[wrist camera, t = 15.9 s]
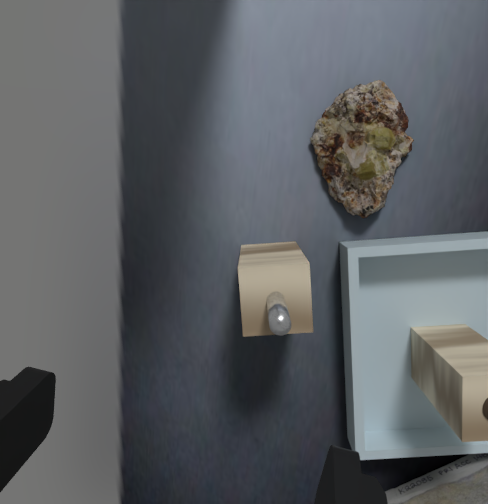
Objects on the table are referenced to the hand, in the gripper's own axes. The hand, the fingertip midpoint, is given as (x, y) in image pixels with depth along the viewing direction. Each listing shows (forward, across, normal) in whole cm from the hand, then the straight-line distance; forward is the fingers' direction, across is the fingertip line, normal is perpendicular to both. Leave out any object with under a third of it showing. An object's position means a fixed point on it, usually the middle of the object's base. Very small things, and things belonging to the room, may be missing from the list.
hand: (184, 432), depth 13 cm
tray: (+28, -16, +8) cm, 33 cm away
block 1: (+27, -1, +4) cm, 28 cm away
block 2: (+28, -16, +8) cm, 33 cm away
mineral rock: (+30, -6, -6) cm, 31 cm away
